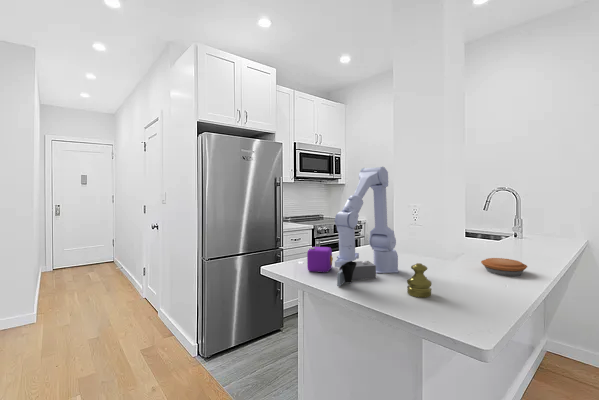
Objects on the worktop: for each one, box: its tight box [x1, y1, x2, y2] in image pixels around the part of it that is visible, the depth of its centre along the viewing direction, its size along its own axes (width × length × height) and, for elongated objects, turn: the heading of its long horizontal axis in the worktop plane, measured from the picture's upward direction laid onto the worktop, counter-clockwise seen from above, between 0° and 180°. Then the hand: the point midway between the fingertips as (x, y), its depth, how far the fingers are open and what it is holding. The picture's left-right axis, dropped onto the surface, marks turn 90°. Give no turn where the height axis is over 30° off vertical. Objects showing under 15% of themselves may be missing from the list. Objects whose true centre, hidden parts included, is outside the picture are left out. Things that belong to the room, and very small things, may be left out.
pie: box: [480, 257, 528, 277], centre depth 122 cm, size 15×16×5 cm
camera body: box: [338, 260, 377, 281], centre depth 118 cm, size 13×8×6 cm, turn 98°
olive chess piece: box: [406, 262, 433, 299], centre depth 97 cm, size 7×7×10 cm
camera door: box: [336, 269, 346, 287], centre depth 109 cm, size 9×1×5 cm, turn 155°
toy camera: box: [306, 246, 334, 273], centre depth 130 cm, size 11×14×10 cm
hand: (348, 282), depth 107 cm, fingers closed, pressing on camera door
